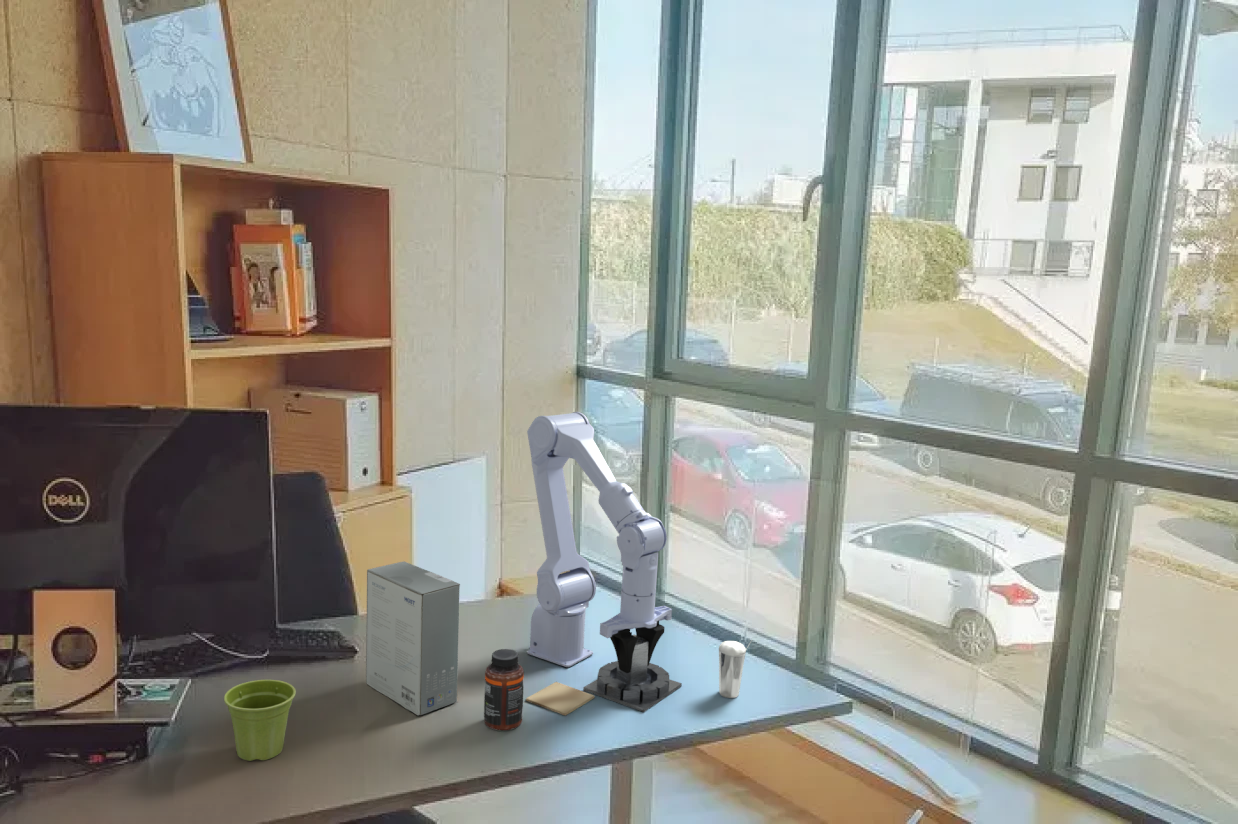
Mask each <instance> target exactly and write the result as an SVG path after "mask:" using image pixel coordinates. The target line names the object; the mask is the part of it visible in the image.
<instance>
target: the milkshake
mask: <svg viewBox="0 0 1238 824" xmlns="http://www.w3.org/2000/svg"><path fill="white" fill-rule="evenodd" d="M752 641H753V640H752V639H751V640H750V642H749V644H748V645H747V647H745V645H744V644H743V643H741V642H739V641H736V640H724V641H723V642H721V643H720V645H719V646H718V664H719V665H718V667H719V668H718V672H719V673H718V676H719V677H718V679H719V680H718V686H719V687H718V688H719V690H718V691H719V695H720V696H722V697H723V698H727V699H734V698H737V697H739V695H740V690H741V682H742V676H743V669H744V664H745V659H746V654H747V653H746V652H747V650H748V649H749V647H750V644H751V643H752Z"/></svg>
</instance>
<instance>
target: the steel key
mask: <svg viewBox="0 0 1238 824" xmlns="http://www.w3.org/2000/svg"><path fill="white" fill-rule="evenodd" d="M632 635H633V636H635V637H637V638H638V641H637V643H636V645H635V648H634V652H633V657H632V667H631V671H630V673H625V672H623V671H621V670H620V669H619V665H618V659H617V658H616V659H617V660H616V661H617V675H616V678H617V679H619V680H621V681H622V682H624V683H626V684H628V685H631V686H632V685H635V684H638V683H641V682H644V681H646V678H647V663H648V648H649V641H647V640H645V639H643V638H641V637H639V636H637V635H636V633H634V634H632Z"/></svg>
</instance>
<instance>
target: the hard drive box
mask: <svg viewBox="0 0 1238 824" xmlns="http://www.w3.org/2000/svg"><path fill="white" fill-rule="evenodd" d="M460 587H461V584H460V583H459V582H456V581H454V580H451V579H449V578H447V577H444V576H442V575H440V574H437V573H434V572H433V571H429V570H426V569H425V568H421V567H419V566H416V565H415V564H411V563H409V562H407V561H404V560H403V561H397V562H396V563H391V564H386V565H382V566H376V567H372V568H368V569H367V570H366V632H365V633H366V636H365V637H366V641H365V642H366V648H365V649H366V651H365V653H366V655H365V656H366V658H365V661H366V663H365V666H366V667H365V678H366V679H365V681H366V682H365V683H366V685H367V686H370V688H372V689H374V690H375V691H377V692H378V693H380V694H382V695H384V696H386V697H387V698H389V699H391V700H392V701H394V702H395V703H397V704H398V705H400V706H402V707H403V708H405V709H406V710H407V711H410V712H411V713H413V714H415V715H417V716H422V715H425V714H428V713H431V712H433V711H436V710H439V709H440V708H441V709H442V708H444V707H446V706H449V705H452V704H454V703H457V702H458V699H457V698H458V672H459V671H458V666H459V665H458V663H459V662H458V661H459V660H458V659H459V623H460V622H459V621H460V619H459V617H460Z"/></svg>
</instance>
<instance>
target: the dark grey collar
mask: <svg viewBox="0 0 1238 824" xmlns="http://www.w3.org/2000/svg"><path fill="white" fill-rule="evenodd" d="M616 675H617V660H616V661H611V662H607V663H606V664H603V666H601V667H599V668H598V672H597V679H594V680H593V681H591V682H589V683H588V684H586V685H585V686H583V690H582V691H583V692H586V693H589V694H592V695H594V696H598V697H601V698H602V699H603V698H604V699H605V700H606V699H607V700H609V701H612V702H615V703H617V704H620V705H623V706H625V707H628V708H631V709H634V710H637V711H639V712H642V713H645V712H647V711H648V710H650V709H651V708H653V707H655V706H656V705H657V704H659V703H660V702H661V701H662V700H664V699H666V698H667V697H668V696H670V695H672V694H673V693H674V692H676V691H677V690H679V689H680V688H682V687H683V686H682V683H681V682H678V681H676V680H672V679H670V673H669V672H668V671H667V670H666V669H664V668H663V667H662V666H659V665H657V664H654V663H651V662H650V663H649V666H648V667H647V678H646V681H644V682H641V683H638V684H635V685H632V686H631V685H628V684H626V683H624V682H622V681H621V680H619V679H617V678H616Z"/></svg>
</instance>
